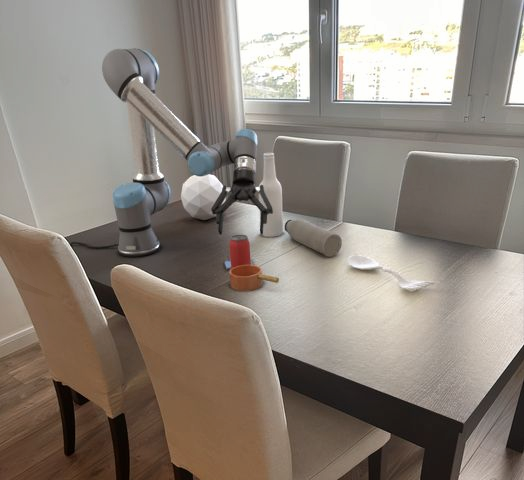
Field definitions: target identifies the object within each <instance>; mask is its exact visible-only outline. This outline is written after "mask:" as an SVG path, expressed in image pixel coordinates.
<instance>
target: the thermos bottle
mask: <svg viewBox="0 0 524 480" xmlns="http://www.w3.org/2000/svg"><path fill="white" fill-rule="evenodd" d="M284 231H285V232H287V234H288V236H289V237H290V238H291V239H292V240H294V241H295V242H298V243H300V244H302V245H304V246H306V247H308V248H309V249H311V250H314V251H316V252H318V253H319V254H322V255H324V256H325V257H328V258H332V257H334V256H337V254H339V252H340V251H341V249H342V246H343V245H342V244H343V242H342V241H343V240H342V238H341V236H340V235H339V234H337V233H335V232H333V231H330V230H328V229H325V228H324V227H320V226H318V225H316V224H314V223H311V222H310V221H307V220H304V219H302V218H296V219H288V220H287V221H286V222H285V223H284Z"/></svg>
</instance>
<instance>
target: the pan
mask: <svg viewBox="0 0 524 480" xmlns="http://www.w3.org/2000/svg"><path fill="white" fill-rule="evenodd" d="M228 271H229V272H228V275H229V285H230V287H231V288H232V290H236V291H240V292H241V291H242V292H247V291H254V290H257V289H259V288H261V287H263V280H261V279H258V274H263V268H261V266H258V265H255V264H252V265H240V266H236V267H233V268H232V269H231V270H228Z"/></svg>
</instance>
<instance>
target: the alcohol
mask: <svg viewBox="0 0 524 480" xmlns="http://www.w3.org/2000/svg"><path fill="white" fill-rule="evenodd" d="M260 185H263V187H264V192H265V194H266V196H267V198H268V200H269V202H270V204H271V206H272V209H273V213H272V214H268V215H267V223H266V224H264V225H263V234H261V235H262V236H263V237H265V238H266V237H267V238H275V237H279V236H281V235H282V234H283V232H284V222H283V221H284V220H283V218H284V216H283V215H284V214H283V188H282V187H283V186H282V184H281V182H280V181H279V179H277V172H276V163H275V153H274V152H265V153H263V177H262V181H261V182H260V183H259V185H258V187H260ZM258 200H259V201H260V202H261V204H262V205H263V206H264V207H265V208H266V209H267V207H266V205H265V203H264V201H263V199H262V197H261V194H259V193H258ZM260 217H261V211H260V210H259V218H260Z"/></svg>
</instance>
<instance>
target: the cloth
mask: <svg viewBox="0 0 524 480" xmlns="http://www.w3.org/2000/svg"><path fill="white" fill-rule="evenodd" d="M251 265H253V262H252V261H251ZM224 266H225V269H226V270H227V271H230V270H231V260H225V261H224Z"/></svg>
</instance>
